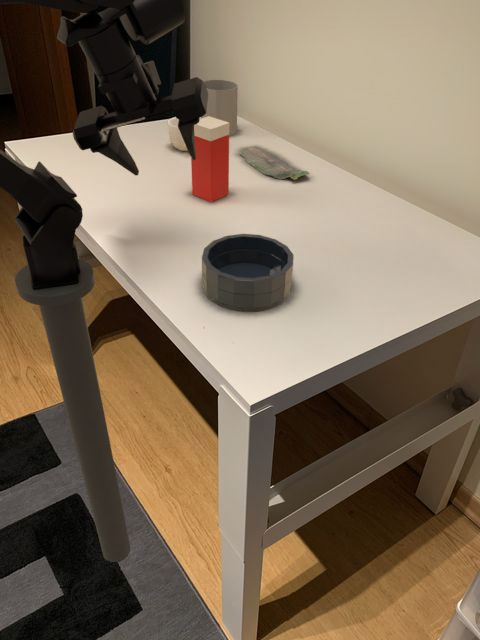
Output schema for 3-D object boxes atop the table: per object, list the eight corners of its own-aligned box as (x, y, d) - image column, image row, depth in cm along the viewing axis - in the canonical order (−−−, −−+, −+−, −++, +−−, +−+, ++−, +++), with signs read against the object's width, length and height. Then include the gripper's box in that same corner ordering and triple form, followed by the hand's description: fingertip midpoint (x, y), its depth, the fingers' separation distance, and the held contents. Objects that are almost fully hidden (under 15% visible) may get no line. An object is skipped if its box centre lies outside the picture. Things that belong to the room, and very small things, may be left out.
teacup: (169, 140, 123) (167, 115, 120) (203, 141, 124) (203, 116, 120) (168, 158, 115) (167, 131, 112) (205, 158, 116) (205, 132, 113)
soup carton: (211, 202, 100) (210, 129, 92) (192, 194, 103) (189, 122, 94) (228, 194, 103) (229, 122, 95) (209, 186, 106) (208, 116, 97)
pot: (216, 318, 74) (216, 286, 71) (193, 269, 83) (192, 239, 80) (303, 303, 77) (307, 273, 74) (272, 258, 86) (274, 229, 83)
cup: (214, 122, 134) (213, 77, 128) (243, 129, 131) (244, 84, 125) (193, 131, 128) (192, 85, 122) (223, 139, 125) (224, 92, 119)
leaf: (230, 156, 121) (230, 151, 120) (260, 149, 124) (260, 144, 123) (281, 185, 107) (281, 180, 106) (313, 177, 110) (313, 172, 109)
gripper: (188, 13, 73) (227, 120, 85) (63, 54, 77) (117, 150, 89) (181, 53, 66) (224, 162, 78) (44, 95, 70) (105, 194, 82)
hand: (165, 166), depth 82 cm, fingers open, 9 cm apart
